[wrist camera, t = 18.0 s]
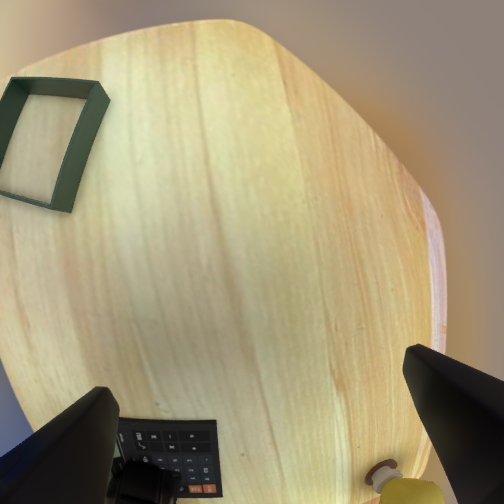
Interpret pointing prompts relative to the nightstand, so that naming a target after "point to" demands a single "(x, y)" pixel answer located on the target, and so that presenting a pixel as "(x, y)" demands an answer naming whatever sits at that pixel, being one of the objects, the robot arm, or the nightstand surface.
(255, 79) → the nightstand surface
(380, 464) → the coaster
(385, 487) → the light bulb
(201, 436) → the calculator
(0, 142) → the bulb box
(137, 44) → the nightstand surface
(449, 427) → the robot arm
